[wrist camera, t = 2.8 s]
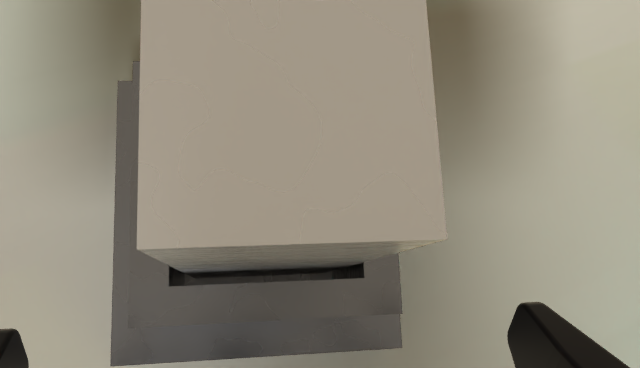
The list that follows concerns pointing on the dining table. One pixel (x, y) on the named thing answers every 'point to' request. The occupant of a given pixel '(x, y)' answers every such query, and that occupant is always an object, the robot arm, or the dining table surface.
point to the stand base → (233, 292)
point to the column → (286, 135)
